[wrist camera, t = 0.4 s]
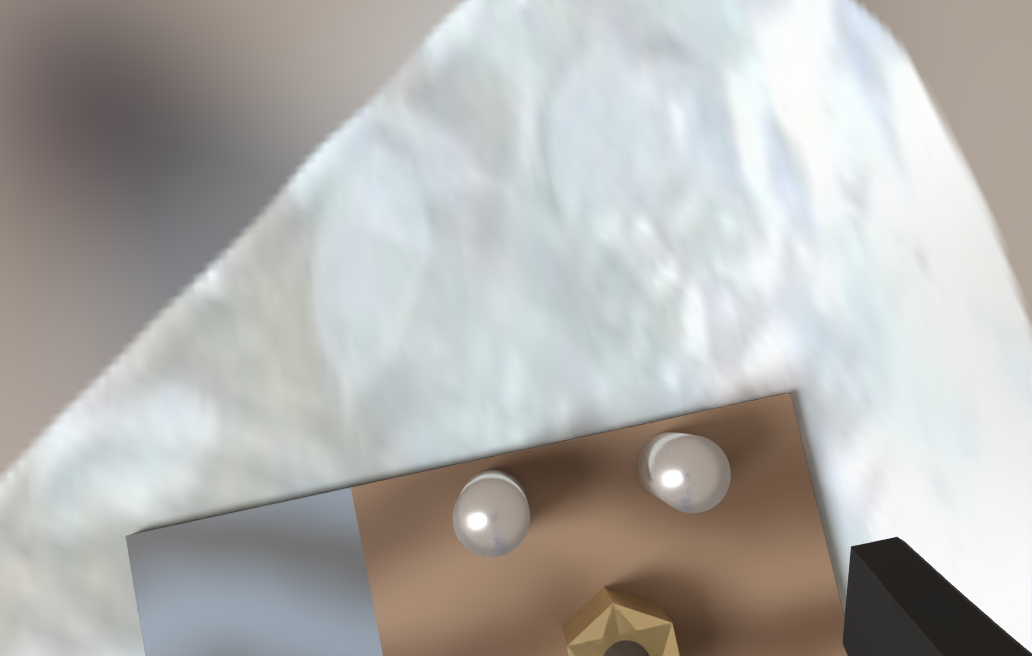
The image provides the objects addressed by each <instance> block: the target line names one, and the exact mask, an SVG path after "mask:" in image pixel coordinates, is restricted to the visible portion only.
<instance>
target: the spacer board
mask: <svg viewBox="0 0 1032 656" xmlns="http://www.w3.org/2000/svg"><path fill="white" fill-rule="evenodd" d="M662 432H677V433H683V434H690V435H696V436H701V437H705V438H707V439H709V440H711V441H713V442H714V443H715V444H717V445H718V446H719V447H720V448H721V449H722V451H723V452H724V453H725V455H726V457H727V459H728V461H729V465H730V470H731V481H730V485H729V488H728V491H727V493H726V495H725V496H724V498H723V499H722V500H721V501H720V502H719V503H718V504H717V505H716V506H715V507H713V508H711V509H709V510H707V511H704V512H700V513H686V512H682V511H679V510H677V509H675V508H673V507H672V506H670V505H668V504H667V503H665V502H663V501H662V500H660V499H658V498H657V497H655V496H654V495H652V494H651V493H649V492H648V491H647V490H646V489H645V488H644V487H643V485H642V484H641V482H640V480H639V478H638V475H637V470H636V461H637V456H638V453H639V451H640V449H641V447H642V446H643V444H644V443H645V442H646V441H647V440H648V439H649V438H651V437H652V436H654V435H656V434H659V433H662ZM486 470H501V471H505V472H507V473H509V474H511V475H512V476H514V477H515V478H516V479H517V480H518V481H519V482H520V483H521V485H522V486H523V488H524V490H525V493H526V496H527V501H528V505H529V510H530V525H529V529H528V532H527V535H526V536H525V538H524V540H523V541H522V543H521V544H520V545H519V546H518V547H517V548H516V549H514V550H513V551H511V552H510V553H508V554H506V555H503V556H499V557H484V556H480V555H477V554H475V553H473V552H471V551H470V550H468V549H467V548H466V547H465V546H464V545H463V544H462V543H461V542H460V540H459V539H458V537H457V535H456V533H455V530H454V526H453V510H454V506H455V503H456V501H457V499H458V497H459V495H460V493H461V492H462V490H463V488H464V486H465V485H466V483H467V482H468V481H469V480H470V479H471V478H472V477H473V476H474V475H476V474H478V473H480V472H482V471H486ZM126 541H127V547H128V553H129V559H130V565H131V571H132V577H133V583H134V589H135V595H136V601H137V607H138V613H139V619H140V625H141V631H142V637H143V643H144V649H145V655H146V656H568V653H567V649H566V644H565V639H564V634H563V630H562V626H563V625H564V624H565V623H566V622H567V621H568V620H569V619H570V618H571V617H572V616H573V615H574V614H576V613H577V612H578V611H579V610H580V609H581V608H582V607H583V606H584V605H585V604H586V603H587V602H588V601H589V600H591V599H592V598H593V597H594V596H595V595H596V594H597V593H598V592H599V591H600V590H601V589H602V588H603V587H606V588H609V589H612V590H615V591H618V592H621V593H624V594H627V595H630V596H633V597H636V598H639V599H642V600H645V601H648V602H651V603H654V604H657V605H659V606H660V607H661V609H662V610H663V611H664V613H665V614H666V615H667V617H668V618H669V619H670V620H671V622H672V624H673V628H674V633H675V637H676V642H677V646H678V651H679V655H680V656H848V655H847V653H846V651H845V648H844V646H843V631H844V620H845V618H844V614H843V610H842V606H841V601H840V597H839V593H838V589H837V585H836V581H835V577H834V573H833V568H832V564H831V560H830V556H829V552H828V548H827V544H826V539H825V535H824V531H823V527H822V523H821V519H820V515H819V511H818V506H817V502H816V498H815V494H814V490H813V486H812V482H811V477H810V473H809V469H808V465H807V461H806V457H805V453H804V449H803V444H802V440H801V436H800V432H799V428H798V424H797V420H796V415H795V411H794V407H793V403H792V399H791V395H790V393H788V394H780V395H776V396H771V397H766V398H762V399H757V400H752V401H748V402H743V403H738V404H734V405H729V406H725V407H720V408H715V409H711V410H706V411H701V412H697V413H692V414H687V415H683V416H678V417H673V418H669V419H664V420H659V421H655V422H650V423H645V424H641V425H636V426H631V427H627V428H622V429H617V430H613V431H608V432H604V433H599V434H594V435H590V436H585V437H580V438H576V439H571V440H566V441H562V442H557V443H552V444H548V445H543V446H538V447H534V448H529V449H524V450H520V451H515V452H510V453H506V454H501V455H497V456H492V457H487V458H483V459H478V460H473V461H469V462H464V463H459V464H455V465H450V466H445V467H441V468H436V469H431V470H427V471H422V472H417V473H413V474H408V475H403V476H399V477H394V478H389V479H385V480H380V481H376V482H371V483H366V484H362V485H357V486H352V487H348V488H343V489H338V490H334V491H329V492H324V493H320V494H315V495H310V496H306V497H301V498H296V499H292V500H287V501H282V502H278V503H273V504H269V505H264V506H259V507H255V508H250V509H245V510H241V511H236V512H231V513H227V514H222V515H217V516H213V517H208V518H203V519H199V520H194V521H189V522H185V523H180V524H175V525H171V526H166V527H161V528H157V529H152V530H148V531H143V532H138V533H134V534H131V535H128V536H126Z"/></svg>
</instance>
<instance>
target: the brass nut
mask: <svg viewBox="0 0 1032 656" xmlns="http://www.w3.org/2000/svg"><path fill="white" fill-rule="evenodd" d="M562 630H563V634H564V639H565V644H566V649H567V653H568V656H680V655H679V651H678V646H677V642H676V637H675V633H674V628H673V624H672V622H671V620H670V619H669V618H668V617H667V615H666V614H665V613H664V611H663V610H662V609H661V607H660V606H659V605H657V604H654V603H651V602H648V601H645V600H642V599H639V598H636V597H633V596H630V595H627V594H624V593H621V592H618V591H615V590H612V589H609V588H606V587H603V588H602V589H601V590H600V591H599V592H598V593H597V594H596V595H595V596H594V597H593V598H592V599H591V600H589V601H588V602H587V603H586V604H585V605H584V606H583V607H582V608H581V609H580V610H579V611H578V612H577V613H576V614H574V615H573V616H572V617H571V618H570V619H569V620H568V621H567V622H566V623H565V624H564V625H563V626H562Z"/></svg>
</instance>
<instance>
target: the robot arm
mask: <svg viewBox="0 0 1032 656" xmlns="http://www.w3.org/2000/svg"><path fill="white" fill-rule="evenodd" d="M843 646H844V648H845V651H846V653H847V655H848V656H1032V653H1031V652H1029V651H1028V650H1027V649H1026V648H1024V647H1023V646H1022V645H1021V644H1020V643H1019V642H1017V641H1016V640H1015V639H1014V638H1013V637H1011V636H1010V635H1009V634H1008V633H1007V632H1006V631H1004V630H1003V629H1002V628H1001V627H1000V626H999V625H997V624H996V623H995V622H994V621H993V620H992V619H990V618H989V617H988V616H987V615H986V614H985V613H984V612H982V611H981V610H980V609H979V608H978V607H977V606H976V605H974V604H973V603H972V602H971V601H970V600H969V599H968V598H966V597H965V596H964V595H963V594H962V593H961V592H960V591H959V590H957V589H956V588H955V587H954V586H953V585H952V584H951V583H950V582H948V581H947V580H946V579H945V578H944V577H943V576H942V575H941V574H940V573H938V572H937V571H936V570H935V569H934V568H933V567H932V566H931V565H930V564H929V563H927V562H926V561H925V560H924V559H923V558H922V557H921V556H920V555H919V554H918V553H916V552H915V551H914V550H913V549H912V548H911V547H910V546H909V545H908V544H907V543H906V542H904V541H903V540H901V539H900V538H898V537H894V538H890V539H885V540H880V541H875V542H871V543H866V544H861V545H856V546H851V553H850V564H849V575H848V587H847V598H846V609H845V620H844V631H843Z"/></svg>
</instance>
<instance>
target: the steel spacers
mask: <svg viewBox="0 0 1032 656" xmlns="http://www.w3.org/2000/svg"><path fill="white" fill-rule="evenodd" d="M636 470H637V475H638V478H639V480H640V482H641V484H642V485H643V487H644V488H645V489H646V490H647V491H648V492H649V493H651V494H652V495H654V496H655V497H657V498H658V499H660V500H662V501H663V502H665V503H667V504H668V505H670V506H672V507H673V508H675V509H677V510H679V511H682V512H686V513H700V512H704V511H707V510H709V509H711V508H713V507H715V506H716V505H717V504H718V503H719V502H720V501H721V500H722V499H723V498H724V496H725V495H726V493H727V491H728V488H729V485H730V481H731V470H730V465H729V461H728V459H727V457H726V455H725V453H724V452H723V451H722V449H721V448H720V447H719V446H718V445H717V444H715V443H714V442H713V441H711V440H709V439H707V438H705V437H701V436H696V435H690V434H683V433H677V432H662V433H659V434H656V435H654V436H652V437H651V438H649V439H648V440H647V441H646V442H645V443H644V444H643V446H642V447H641V449H640V451H639V453H638V456H637V461H636ZM529 525H530V510H529V505H528V501H527V496H526V493H525V490H524V488H523V486H522V485H521V483H520V482H519V481H518V480H517V479H516V478H515V477H514V476H512V475H511V474H509V473H507V472H505V471H501V470H486V471H482V472H480V473H478V474H476V475H474V476H473V477H472V478H471V479H470V480H469V481H468V482H467V483H466V485H465V486H464V488H463V490H462V492H461V493H460V495H459V497H458V499H457V501H456V503H455V506H454V510H453V526H454V530H455V533H456V535H457V537H458V539H459V540H460V542H461V543H462V544H463V545H464V546H465V547H466V548H467V549H468V550H470V551H471V552H473V553H475V554H477V555H480V556H484V557H499V556H503V555H506V554H508V553H510V552H511V551H513V550H514V549H516V548H517V547H518V546H519V545H520V544H521V543H522V541H523V540H524V538H525V536H526V535H527V532H528V529H529Z"/></svg>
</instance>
